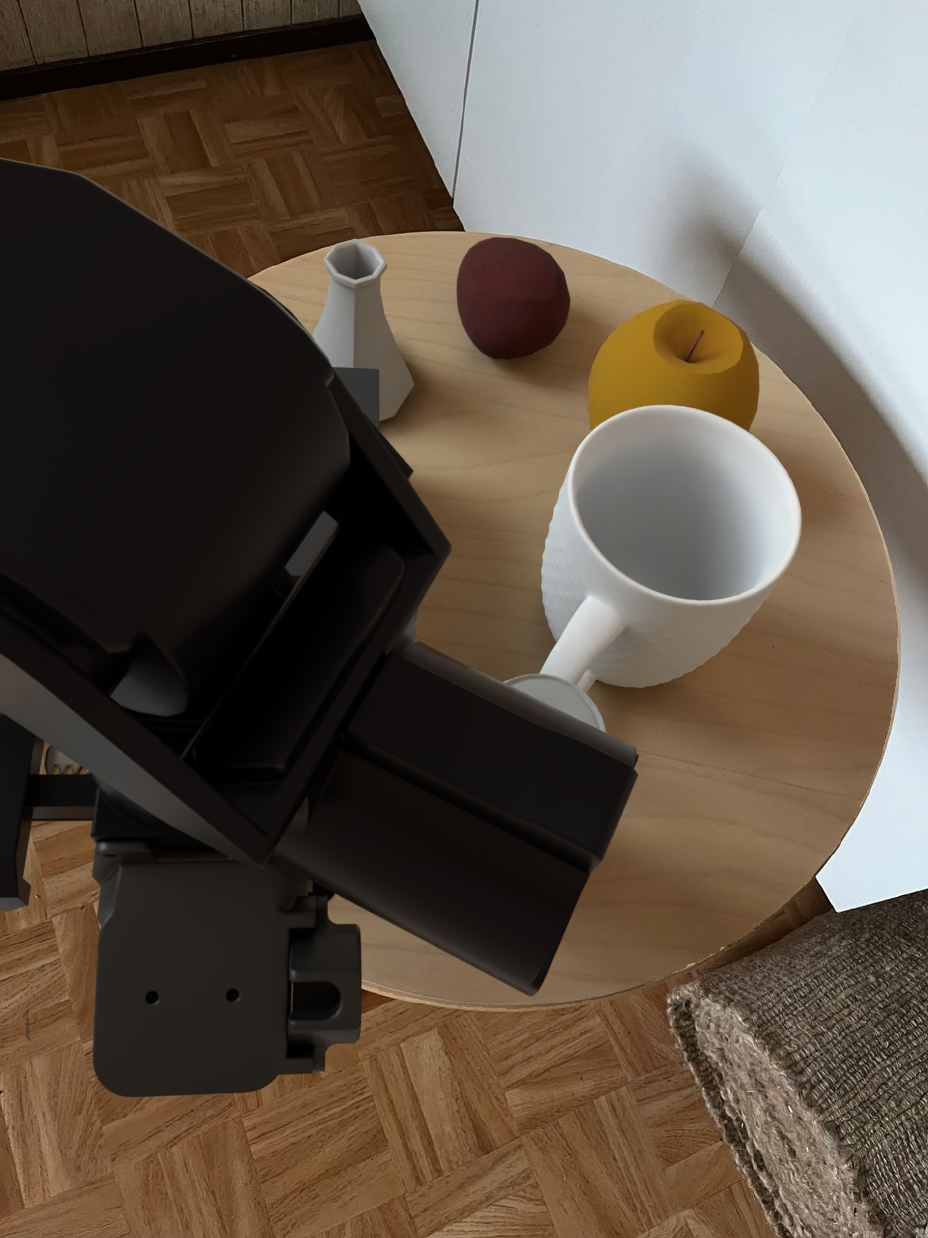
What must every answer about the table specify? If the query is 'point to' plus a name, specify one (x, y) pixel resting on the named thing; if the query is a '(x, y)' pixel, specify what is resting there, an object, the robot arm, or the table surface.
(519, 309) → the potato
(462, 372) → the table surface
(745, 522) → the mug
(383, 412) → the flask
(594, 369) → the apple
